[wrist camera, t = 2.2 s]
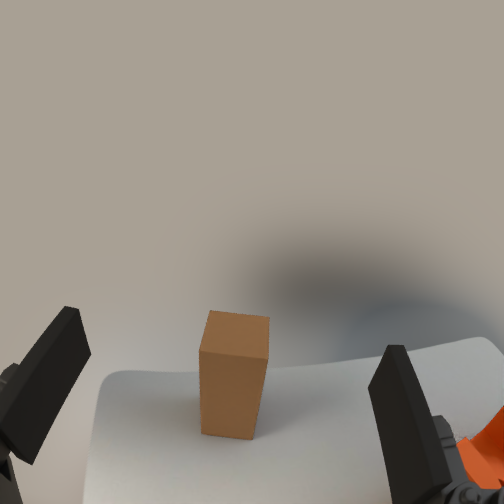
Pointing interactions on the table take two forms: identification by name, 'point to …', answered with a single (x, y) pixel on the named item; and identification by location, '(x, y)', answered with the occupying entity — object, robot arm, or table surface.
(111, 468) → the table surface
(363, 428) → the table surface
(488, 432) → the orange slotted bracket
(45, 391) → the robot arm
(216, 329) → the carton
